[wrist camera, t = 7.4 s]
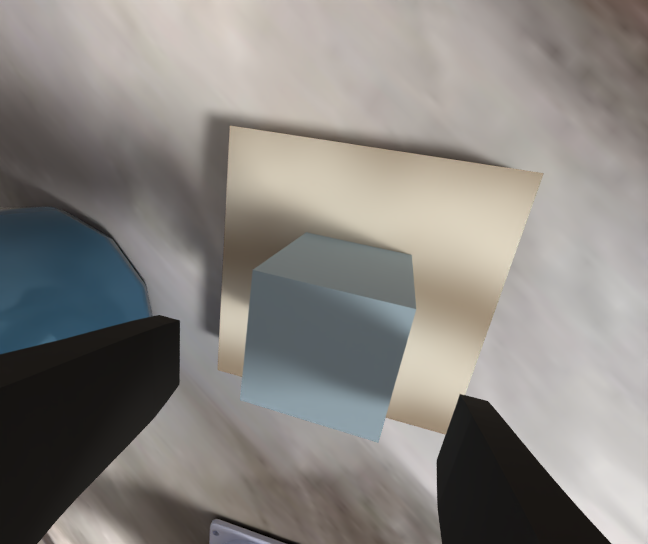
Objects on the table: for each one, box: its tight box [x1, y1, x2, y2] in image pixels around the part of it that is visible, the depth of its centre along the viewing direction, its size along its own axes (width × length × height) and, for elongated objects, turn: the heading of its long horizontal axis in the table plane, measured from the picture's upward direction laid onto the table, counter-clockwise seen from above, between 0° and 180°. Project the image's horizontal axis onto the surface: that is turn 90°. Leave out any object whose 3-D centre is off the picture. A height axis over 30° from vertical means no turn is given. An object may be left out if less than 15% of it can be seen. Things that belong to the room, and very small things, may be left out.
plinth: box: [218, 126, 544, 434], centre depth 16 cm, size 12×12×2 cm
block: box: [240, 232, 416, 442], centre depth 12 cm, size 4×4×6 cm
